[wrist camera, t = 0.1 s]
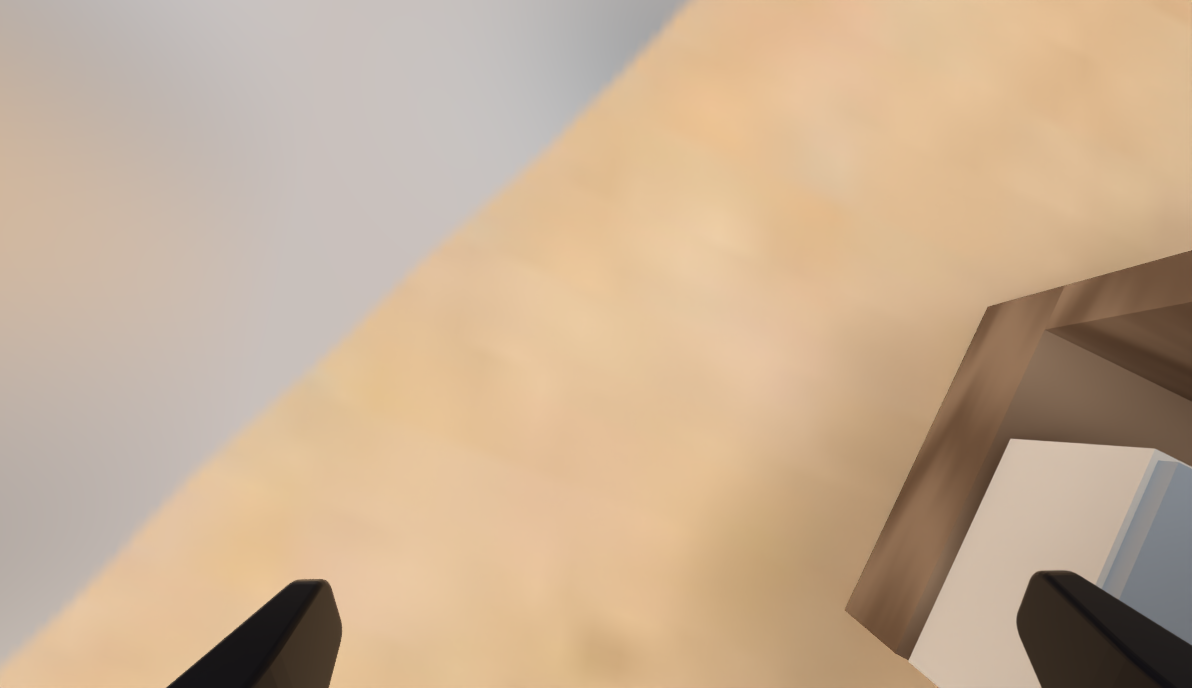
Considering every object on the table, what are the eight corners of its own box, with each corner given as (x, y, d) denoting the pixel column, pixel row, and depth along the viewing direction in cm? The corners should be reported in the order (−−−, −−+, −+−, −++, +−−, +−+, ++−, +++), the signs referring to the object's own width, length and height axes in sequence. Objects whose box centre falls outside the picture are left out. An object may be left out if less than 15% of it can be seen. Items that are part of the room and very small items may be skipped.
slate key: (1058, 742, 18) (1255, 888, 12) (908, 661, 18) (1035, 769, 13) (1157, 512, 18) (1388, 555, 13) (1010, 438, 19) (1175, 449, 13)
